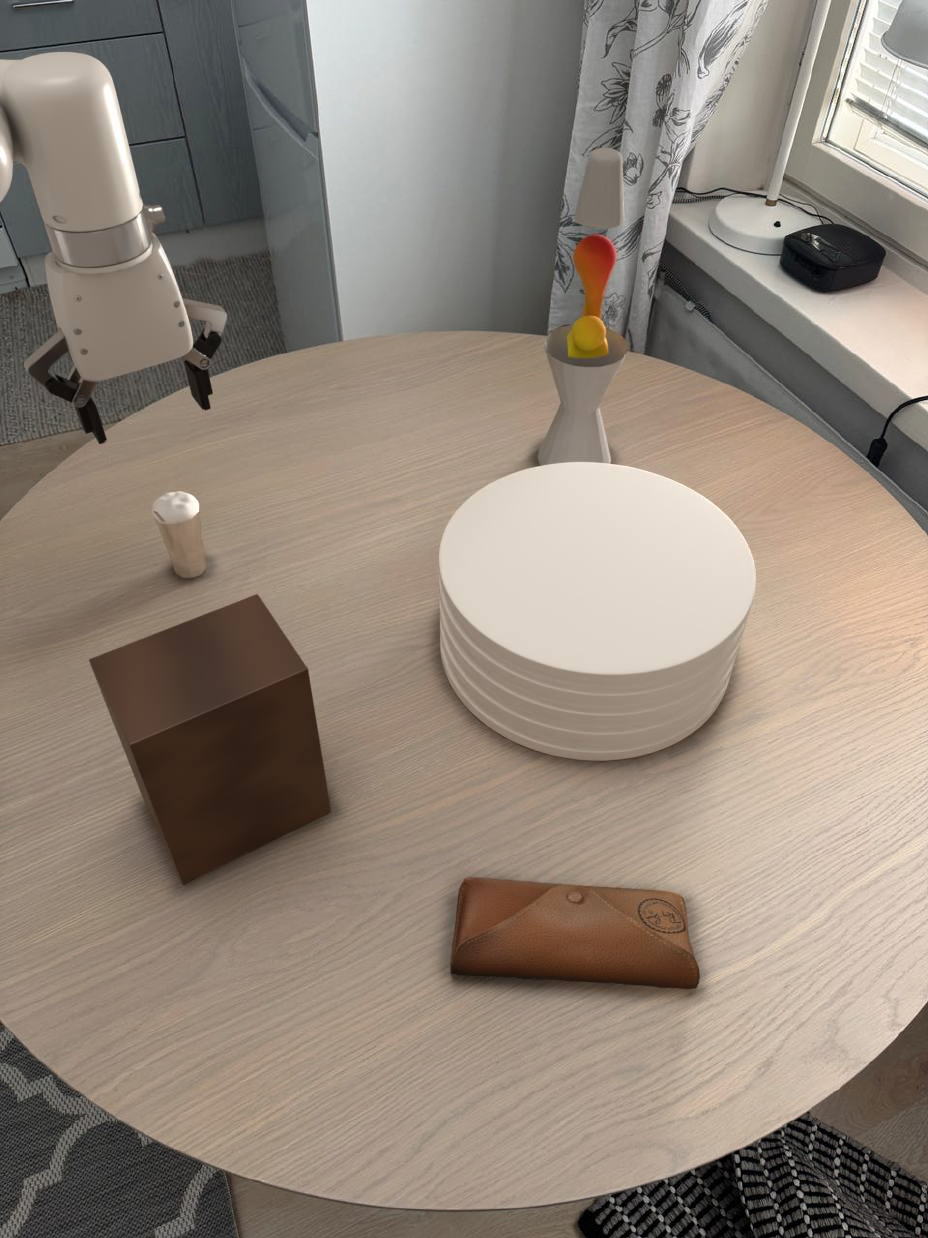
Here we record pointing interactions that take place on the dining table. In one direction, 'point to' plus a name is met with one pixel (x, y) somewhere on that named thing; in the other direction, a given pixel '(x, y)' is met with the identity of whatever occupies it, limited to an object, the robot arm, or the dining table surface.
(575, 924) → the sunglasses case
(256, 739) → the brown box
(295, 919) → the dining table surface
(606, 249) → the lava lamp
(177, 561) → the milkshake
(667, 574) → the plate stack
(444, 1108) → the dining table surface
